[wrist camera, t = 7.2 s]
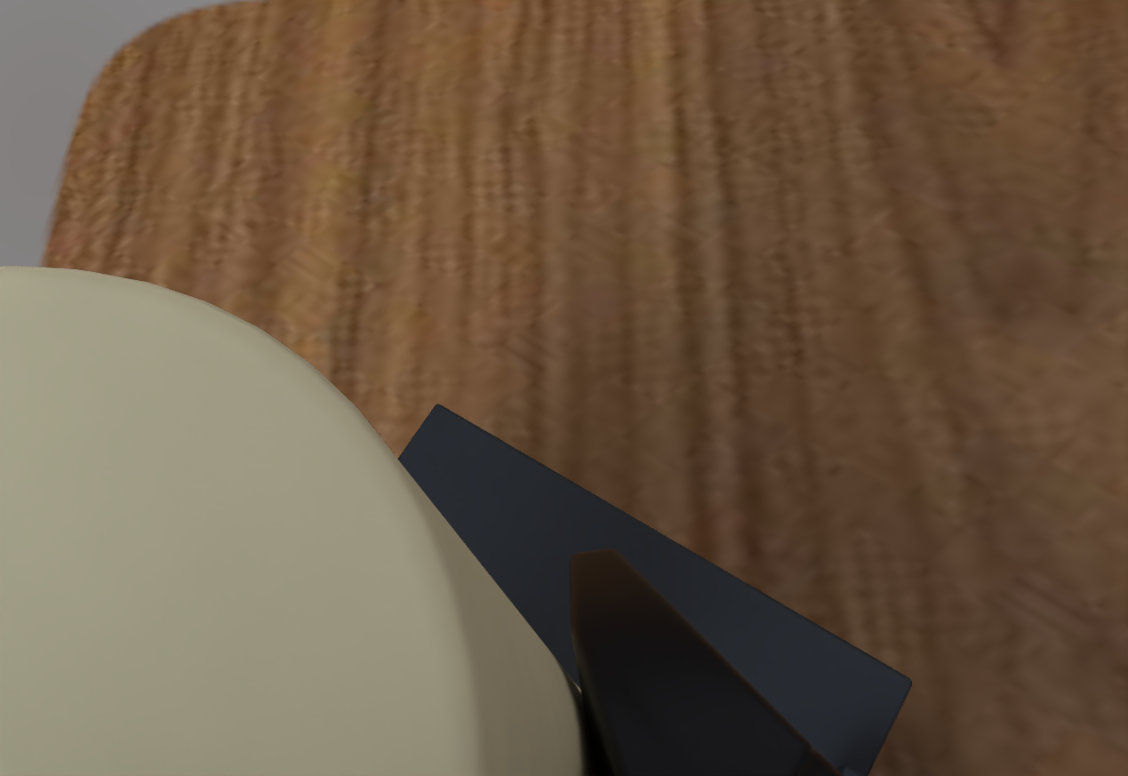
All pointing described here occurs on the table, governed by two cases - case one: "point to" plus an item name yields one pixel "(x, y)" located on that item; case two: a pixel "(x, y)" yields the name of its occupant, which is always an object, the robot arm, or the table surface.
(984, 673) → the table surface
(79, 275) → the tongue pad
